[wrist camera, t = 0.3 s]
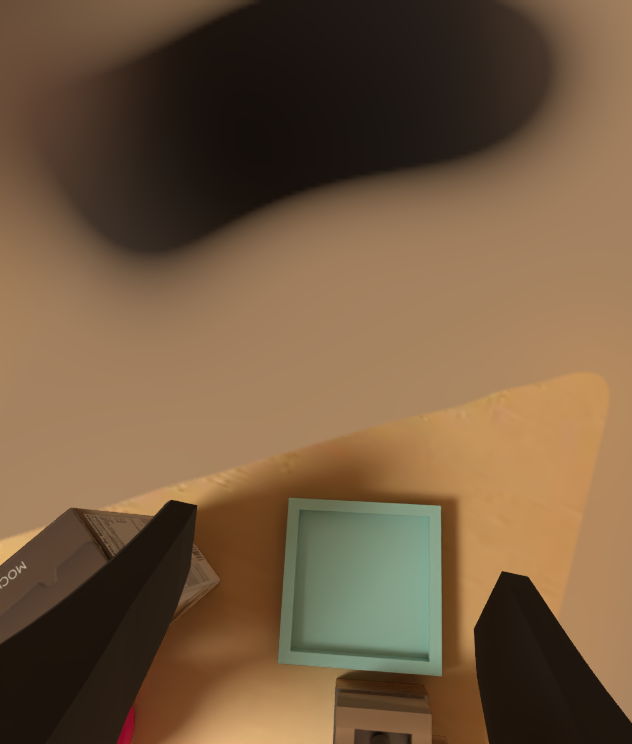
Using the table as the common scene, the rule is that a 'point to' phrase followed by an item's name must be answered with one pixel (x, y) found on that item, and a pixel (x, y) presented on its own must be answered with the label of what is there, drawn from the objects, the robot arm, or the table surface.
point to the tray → (362, 586)
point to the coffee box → (78, 565)
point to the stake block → (368, 740)
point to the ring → (384, 717)
